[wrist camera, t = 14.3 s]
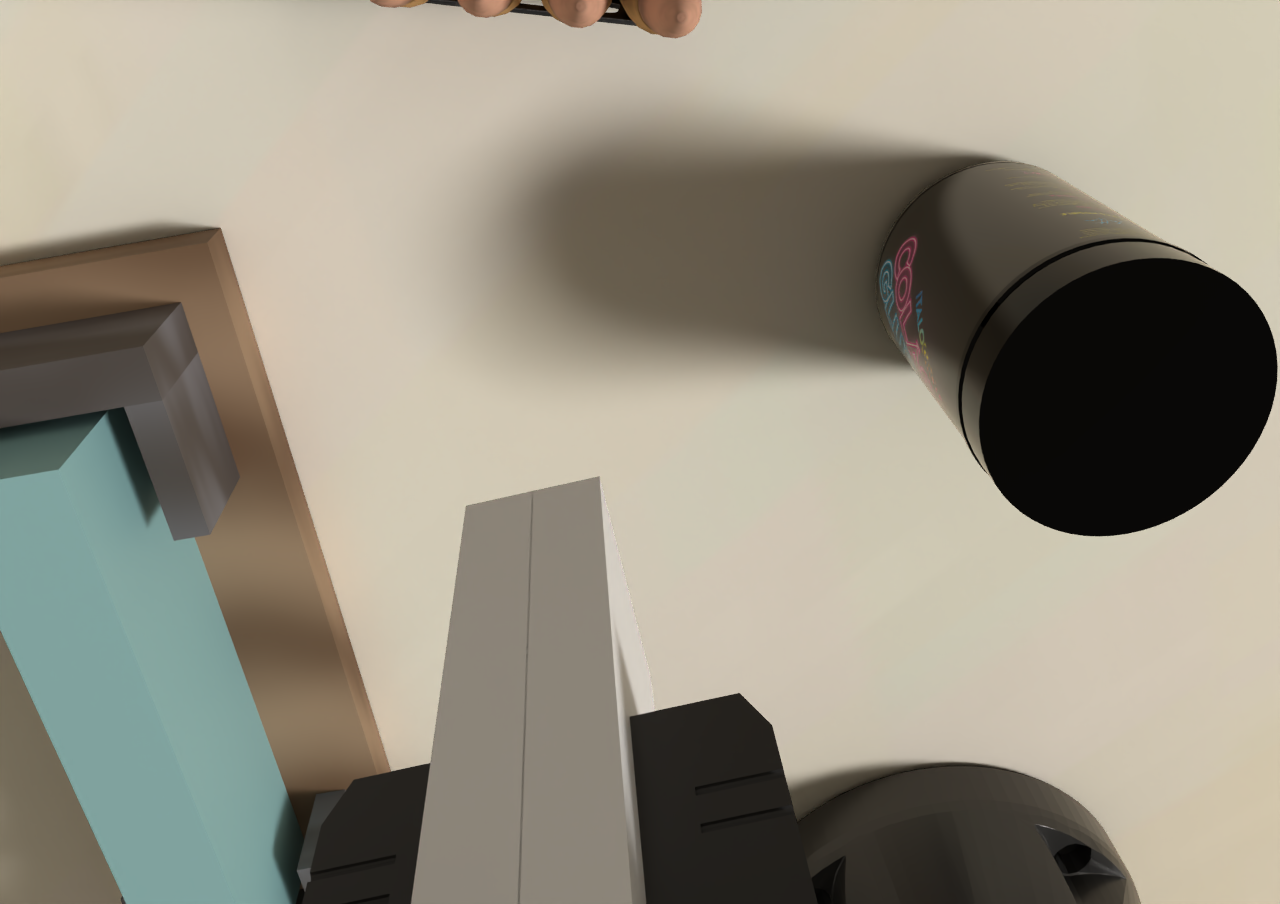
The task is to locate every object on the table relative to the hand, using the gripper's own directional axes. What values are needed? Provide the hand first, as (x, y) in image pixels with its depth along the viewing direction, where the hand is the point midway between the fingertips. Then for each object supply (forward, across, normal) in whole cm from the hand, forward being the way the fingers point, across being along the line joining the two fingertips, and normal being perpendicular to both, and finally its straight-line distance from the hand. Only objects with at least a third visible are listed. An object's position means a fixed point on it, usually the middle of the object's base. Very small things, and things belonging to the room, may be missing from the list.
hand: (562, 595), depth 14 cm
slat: (+21, +15, +12) cm, 29 cm away
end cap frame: (+23, +15, +12) cm, 30 cm away
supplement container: (+23, -12, +6) cm, 26 cm away
